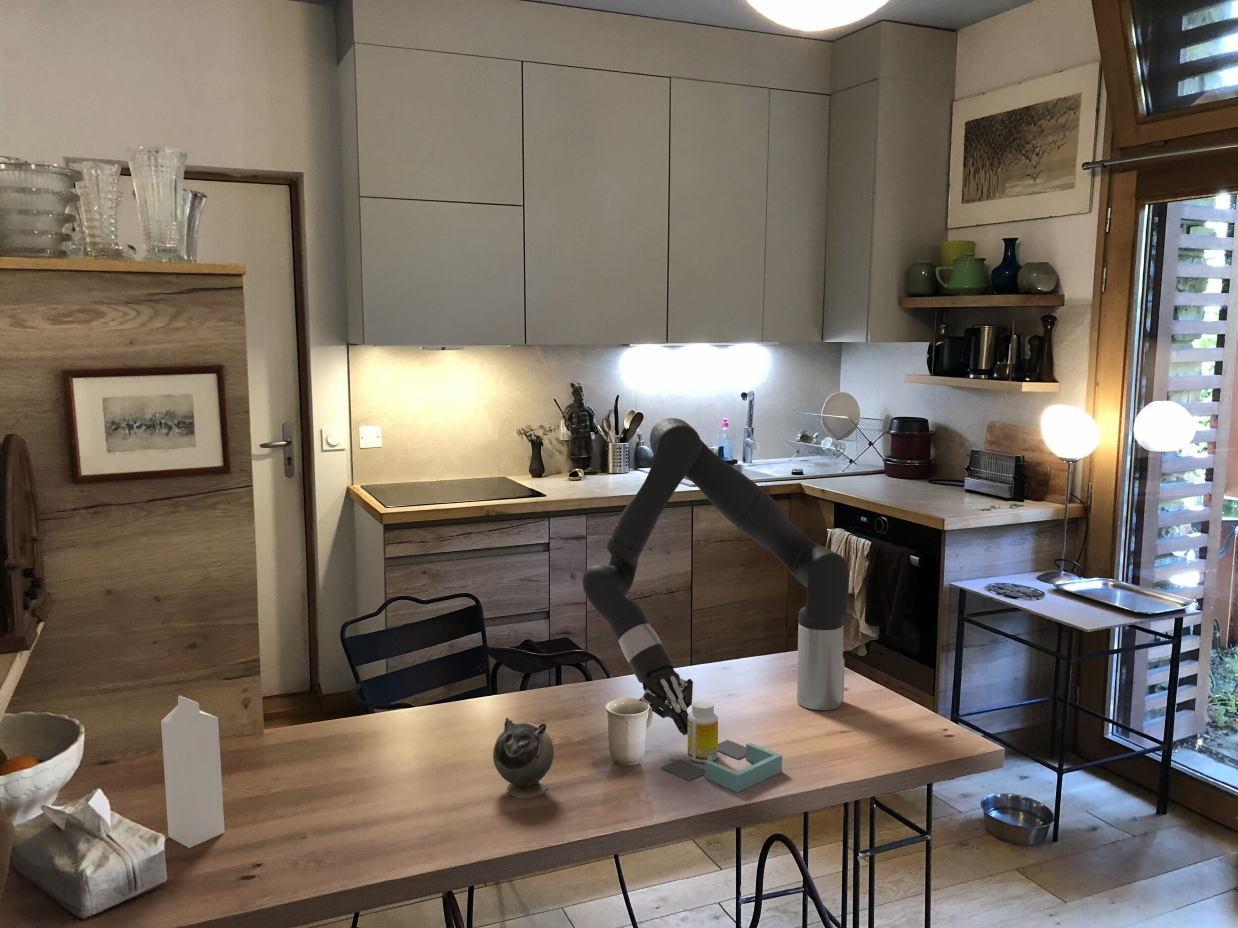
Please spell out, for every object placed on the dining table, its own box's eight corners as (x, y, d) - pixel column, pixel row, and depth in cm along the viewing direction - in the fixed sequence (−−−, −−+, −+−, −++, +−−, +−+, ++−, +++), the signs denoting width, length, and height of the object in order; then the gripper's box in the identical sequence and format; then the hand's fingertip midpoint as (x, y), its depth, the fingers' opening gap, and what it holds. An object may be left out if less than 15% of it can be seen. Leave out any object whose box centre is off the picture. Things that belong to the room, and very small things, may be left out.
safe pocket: (749, 758, 178) (749, 742, 178) (781, 771, 172) (782, 755, 172) (704, 777, 170) (705, 761, 170) (737, 792, 164) (737, 775, 164)
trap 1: (680, 760, 177) (680, 759, 177) (708, 772, 172) (708, 771, 172) (660, 768, 174) (660, 767, 174) (688, 781, 169) (688, 779, 169)
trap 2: (727, 740, 186) (727, 739, 186) (755, 751, 181) (755, 750, 181) (709, 747, 183) (709, 746, 183) (738, 759, 177) (738, 758, 177)
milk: (204, 822, 155) (196, 689, 153) (225, 833, 152) (218, 697, 149) (167, 837, 150) (159, 700, 148) (188, 849, 147) (180, 708, 144)
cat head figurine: (490, 804, 161) (552, 802, 161) (487, 735, 160) (550, 733, 159) (499, 777, 171) (557, 775, 171) (495, 712, 170) (554, 710, 169)
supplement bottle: (724, 757, 178) (724, 704, 177) (703, 766, 174) (704, 712, 173) (701, 748, 182) (701, 696, 181) (681, 757, 179) (681, 703, 177)
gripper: (629, 649, 181) (674, 732, 174) (679, 635, 190) (724, 713, 182) (610, 669, 186) (653, 751, 178) (660, 655, 195) (703, 732, 187)
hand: (689, 732), depth 180 cm, fingers closed
